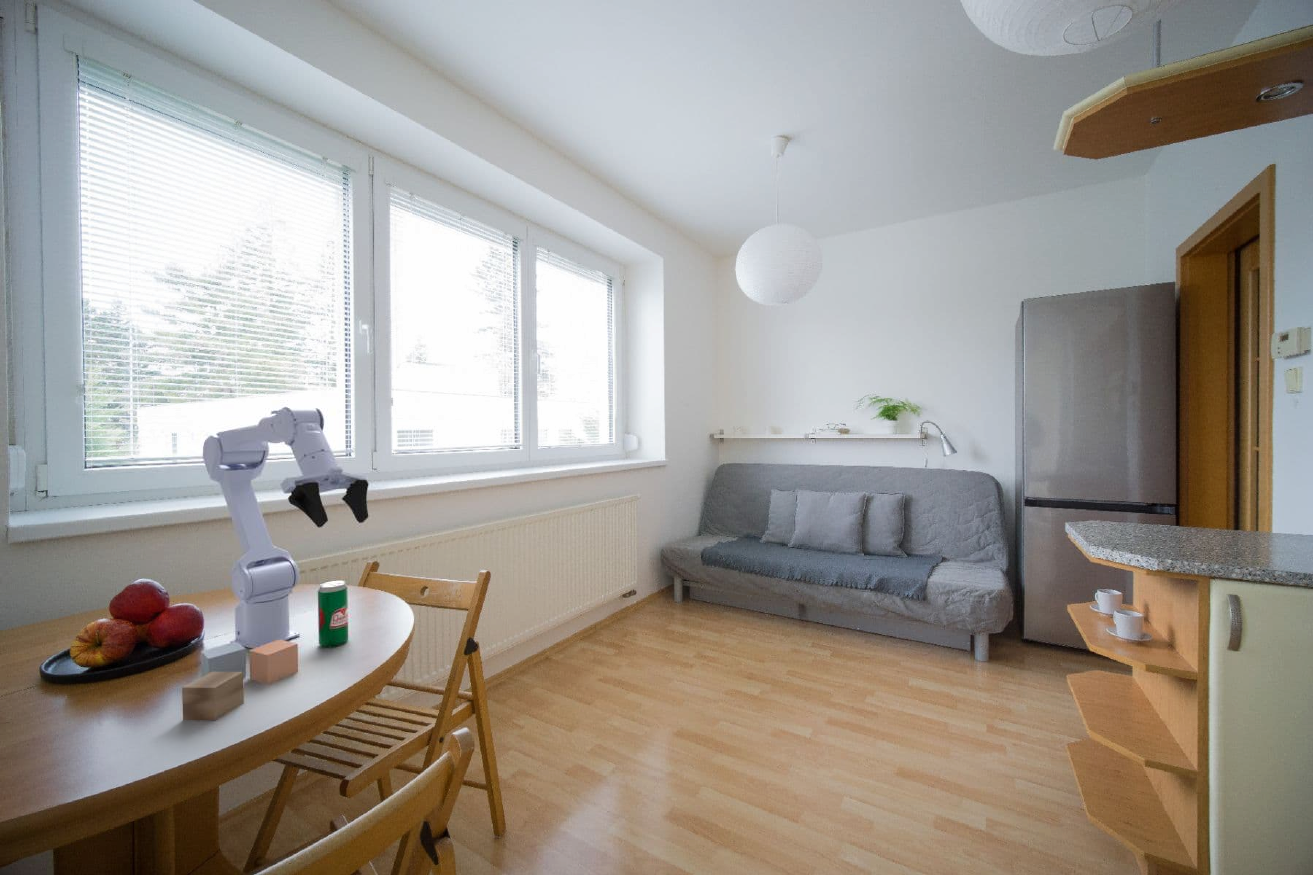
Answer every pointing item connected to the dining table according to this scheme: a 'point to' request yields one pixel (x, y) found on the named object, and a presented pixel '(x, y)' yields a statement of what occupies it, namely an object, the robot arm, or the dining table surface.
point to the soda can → (333, 613)
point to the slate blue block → (224, 659)
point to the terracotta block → (273, 661)
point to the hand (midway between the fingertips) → (344, 521)
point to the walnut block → (212, 696)
